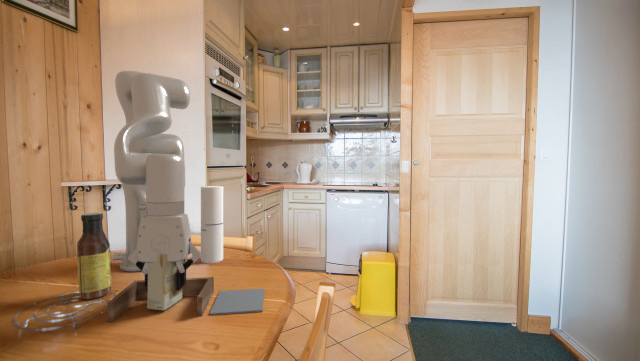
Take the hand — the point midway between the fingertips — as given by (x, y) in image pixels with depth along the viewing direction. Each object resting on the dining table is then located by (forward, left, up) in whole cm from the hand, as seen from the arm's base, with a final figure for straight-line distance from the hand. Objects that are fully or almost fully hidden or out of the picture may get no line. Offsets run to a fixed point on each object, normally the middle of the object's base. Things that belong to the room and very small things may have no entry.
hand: (165, 287), depth 62 cm
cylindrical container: (+3, +32, -4) cm, 32 cm away
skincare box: (0, 0, -4) cm, 4 cm away
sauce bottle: (-19, +8, -4) cm, 21 cm away
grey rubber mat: (+16, 0, -4) cm, 17 cm away
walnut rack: (0, 0, -4) cm, 4 cm away
